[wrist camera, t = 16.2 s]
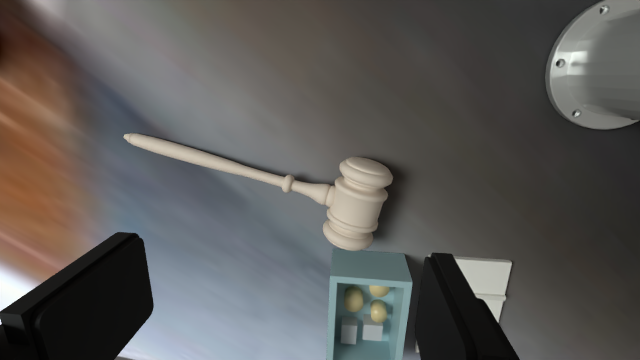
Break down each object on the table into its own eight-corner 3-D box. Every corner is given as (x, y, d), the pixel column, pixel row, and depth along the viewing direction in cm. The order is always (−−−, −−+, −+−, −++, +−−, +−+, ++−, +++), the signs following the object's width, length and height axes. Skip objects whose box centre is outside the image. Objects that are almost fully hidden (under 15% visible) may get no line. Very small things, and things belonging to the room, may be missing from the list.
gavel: (139, 169, 44) (370, 238, 41) (104, 182, 38) (369, 263, 36) (144, 92, 41) (395, 162, 38) (106, 94, 35) (398, 176, 32)
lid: (509, 259, 41) (523, 275, 37) (482, 377, 46) (492, 401, 43) (428, 254, 41) (435, 269, 38) (411, 371, 47) (416, 393, 44)
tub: (404, 253, 41) (412, 282, 36) (393, 342, 46) (399, 380, 40) (332, 248, 42) (330, 275, 36) (328, 336, 46) (325, 372, 41)
